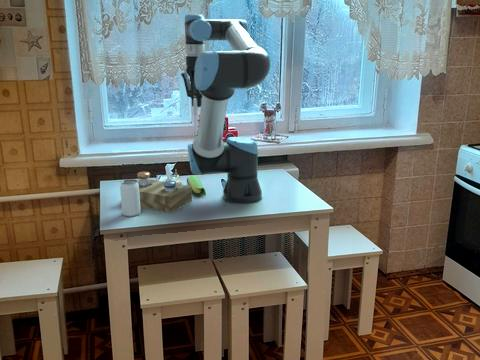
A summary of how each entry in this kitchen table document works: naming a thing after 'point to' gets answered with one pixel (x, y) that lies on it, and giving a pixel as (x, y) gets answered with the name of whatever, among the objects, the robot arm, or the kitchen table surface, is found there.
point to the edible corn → (196, 185)
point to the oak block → (164, 196)
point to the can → (130, 197)
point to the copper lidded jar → (143, 179)
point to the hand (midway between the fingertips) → (197, 114)
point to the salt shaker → (170, 186)
